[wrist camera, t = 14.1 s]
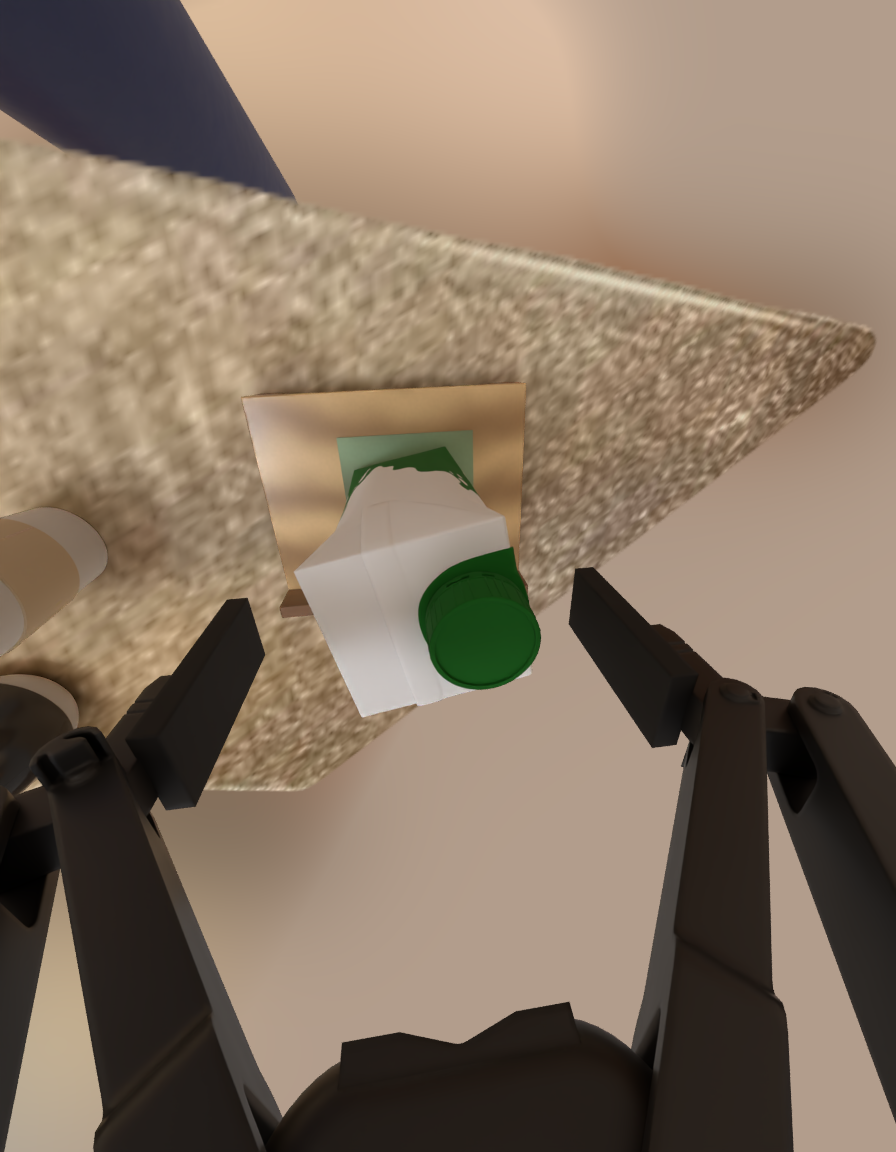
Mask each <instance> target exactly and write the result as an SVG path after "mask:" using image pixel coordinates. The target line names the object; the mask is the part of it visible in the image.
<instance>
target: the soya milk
mask: <svg viewBox="0 0 896 1152" xmlns="http://www.w3.org/2000/svg"><path fill="white" fill-rule="evenodd" d="M294 574H295V576H296V578H297V580H298V582H299V584H300V587H301V589H302V591H303V593H304V595H305V597H306V599H307V602H308V604H309V606H310V608H311V610H312V612H313V614H314V616H315V619H316V621H317V623H318V625H319V627H320V629H321V631H322V634H323V636H324V638H325V640H326V642H327V644H328V646H329V648H330V651H331V653H332V655H333V657H334V659H335V661H336V663H337V666H338V668H339V670H340V672H341V674H342V676H343V678H344V680H345V683H346V685H347V687H348V689H349V691H350V693H351V695H352V697H353V700H354V702H355V704H356V706H357V708H358V710H359V712H360V714H361V716H362V717H366V716H370V715H374V714H377V713H381V712H385V711H389V710H393V709H397V708H400V707H404V706H408V705H412V704H416V703H417V705H418V706H422V705H426V704H430V703H434V702H437V701H440V700H442V699H444V698H447V697H451V696H454V695H458V694H462V693H466V692H470V691H473V690H482V689H490V688H495V687H499V686H502V685H505V684H507V683H509V682H511V681H513V680H514V679H517V678H521V677H524V676H528V675H530V674H531V673H532V666H531V664H532V663H533V661H534V660H535V658H536V656H537V654H538V651H539V648H540V642H541V634H540V628H539V625H538V622H537V620H536V617H535V615H534V613H533V611H532V610H531V608H530V606H529V600H528V595H527V591H526V588H525V585H524V583H523V580H522V578H521V576H520V574H519V572H518V571H517V566H516V560H515V554H514V549H513V547H510V543H509V537H508V531H507V525H506V519H505V516H503V515H501V514H499V513H497V512H495V511H493V510H491V509H489V508H487V507H486V506H485V504H484V503H483V501H482V499H481V498H480V496H479V495H478V493H477V492H476V490H475V489H474V487H473V486H472V484H471V483H470V481H469V480H468V478H467V477H466V476H465V474H464V473H463V471H462V470H461V468H460V467H459V466H458V464H457V463H456V461H455V460H454V458H453V457H452V456H451V454H450V453H449V451H448V450H447V448H446V447H445V446H443V447H440V448H436V449H432V450H428V451H425V452H421V453H417V454H413V455H409V456H405V457H401V458H397V459H393V460H389V461H385V462H381V463H378V464H375V465H371V466H368V467H364V468H361V469H357V470H354V473H353V477H352V481H351V485H350V489H349V493H348V497H347V501H346V505H345V508H344V511H343V513H342V516H341V518H340V521H339V523H338V526H337V528H336V531H335V532H334V533H333V534H332V535H331V536H330V537H329V538H328V539H327V540H326V541H325V542H324V543H323V544H322V545H321V546H320V547H319V548H318V549H317V550H316V551H315V552H314V553H313V554H312V555H311V556H309V557H308V558H307V559H306V560H305V561H304V562H303V563H302V564H301V565H300V566H299V567H298V568H297V569H296V570H295V571H294Z"/></svg>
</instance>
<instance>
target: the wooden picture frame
mask: <svg viewBox="0 0 896 1152" xmlns="http://www.w3.org/2000/svg"><path fill="white" fill-rule="evenodd" d="M241 400H242V404H243V408H244V412H245V416H246V420H247V424H248V428H249V432H250V436H251V440H252V444H253V448H254V452H255V456H256V460H257V464H258V468H259V472H260V476H261V480H262V484H263V488H264V492H265V496H266V500H267V504H268V508H269V512H270V516H271V520H272V524H273V528H274V532H275V536H276V540H277V544H278V548H279V552H280V556H281V560H282V564H283V568H284V572H285V576H286V580H287V584H288V588H289V590H288V592H287V594H286V596H285V598H284V600H283V602H282V604H281V606H280V611H281V615H282V618H286V617H297V616H308V615H314V614H313V612H312V610H311V608H310V606H309V604H308V602H307V599H306V597H305V595H304V593H303V591H302V589H301V587H300V584H299V582H298V580H297V578H296V576H295V574H294V571H295V570H296V569H297V568H298V567H299V566H300V565H301V564H302V563H303V562H304V561H305V560H306V559H307V558H308V557H309V556H311V555H312V554H313V553H314V552H315V551H316V550H317V549H318V548H319V547H320V546H321V545H322V544H323V543H324V542H325V541H326V540H327V539H328V538H329V537H330V536H331V535H332V534H333V533H334V532H335V531H336V528H337V526H338V523H339V521H340V518H341V516H342V513H343V511H344V508H345V505H346V501H347V497H348V493H349V489H350V485H351V481H352V477H353V473H354V470H357V469H361V468H364V467H368V466H371V465H375V464H378V463H381V462H385V461H389V460H393V459H397V458H401V457H405V456H409V455H413V454H417V453H421V452H425V451H428V450H432V449H436V448H440V447H443V446H445V447H446V448H447V450H448V451H449V453H450V454H451V456H452V457H453V458H454V460H455V461H456V463H457V464H458V466H459V467H460V468H461V470H462V471H463V473H464V474H465V476H466V477H467V478H468V480H469V481H470V483H471V484H472V486H473V487H474V489H475V490H476V492H477V493H478V495H479V496H480V498H481V499H482V501H483V503H484V504H485V506H486V507H487V508H489V509H491V510H493V511H495V512H497V513H499V514H501V515H503V516H505V519H506V525H507V531H508V537H509V543H510V547H513V549H514V554H515V560H516V566H517V571H518V572H519V570H518V569H519V545H520V521H521V497H522V473H523V449H524V425H525V401H526V383H520V382H501V383H489V384H480V385H460V386H440V387H419V388H399V389H378V390H358V391H337V392H317V393H296V394H285V393H276V394H258V395H251V396H244V397H241ZM519 574H520V576H521V578H522V580H523V583H524V585H525V588H526V591H527V595H528V585H527V583H526V581H525V580H524V578H523V577H522V575H521V573H520V572H519Z"/></svg>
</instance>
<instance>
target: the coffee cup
mask: <svg viewBox="0 0 896 1152" xmlns="http://www.w3.org/2000/svg"><path fill="white" fill-rule="evenodd" d="M107 560H108V555H107V549H106V546H105V544H104V542H103V540H102V538H101V537H100V535H99V534H98V533H97V531H96V530H95V529H94V528H93V527H92V526H91V525H89V524H88V523H87V522H86V521H84V520H83V519H81V518H80V517H78V516H76V515H74V514H72V513H70V512H68V511H65V510H62V509H58V508H51V507H40V508H34V509H31V510H27V511H23V512H20V513H16V514H12V515H9V516H5V517H1V518H0V657H1V656H2V655H4V654H6V653H8V652H10V651H12V650H13V649H15V648H16V647H17V646H18V645H19V644H21V643H22V642H23V641H24V640H25V639H27V638H28V637H29V636H30V635H31V634H33V633H34V632H35V631H36V630H37V629H39V628H40V627H41V626H42V625H43V624H44V623H46V622H47V621H48V620H49V619H50V618H52V617H53V616H54V615H55V614H56V613H58V612H59V611H60V610H61V609H62V608H64V607H65V606H66V605H67V604H68V603H70V602H71V601H72V600H73V599H74V598H75V596H76V594H77V593H78V592H79V591H80V590H82V589H83V588H84V587H85V586H87V585H88V584H89V583H90V582H91V581H93V580H94V579H95V578H96V577H97V576H99V575H100V574H101V573H102V572H103V571H104V569H105V567H106V565H107Z"/></svg>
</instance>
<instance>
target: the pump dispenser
mask: <svg viewBox="0 0 896 1152" xmlns="http://www.w3.org/2000/svg"><path fill="white" fill-rule="evenodd" d="M78 721H79V710H78V706H77V704H76V701H75V699H74V698H73V696H72V695H71V694H70V693H69V692H68V691H67V690H66V689H65V688H64V687H62V686H61V685H59V684H57V683H56V682H54V681H51V680H49V679H46V678H43V677H39V676H34V675H26V674H13V675H4V676H0V785H2V786H3V787H5V788H6V789H7V790H8V791H9V792H10V793H11V794H12V795H13V796H15V795H18V794H20V793H21V792H23V791H24V790H25V789H26V788H28V787H29V786H30V785H31V784H32V783H34V782H35V781H36V780H37V777H36V776H35V775H34V774H33V772H32V771H31V770H30V768H29V764H30V760H31V758H32V757H33V756H34V755H35V753H36V752H37V751H38V750H39V749H40V748H41V747H43V746H44V745H45V744H46V743H48V742H49V741H51V740H52V739H54V738H56V737H58V736H59V735H61V734H63V733H66V732H68V731H71V730H74V729H76V728H77V725H78Z"/></svg>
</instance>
